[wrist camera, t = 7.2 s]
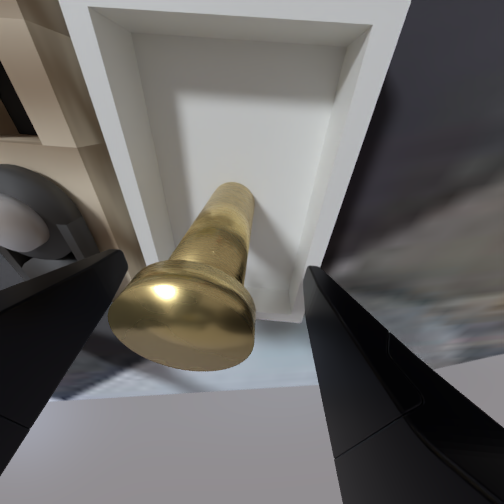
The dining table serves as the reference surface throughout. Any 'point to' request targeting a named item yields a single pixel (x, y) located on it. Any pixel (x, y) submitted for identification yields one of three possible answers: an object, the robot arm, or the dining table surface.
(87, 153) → the plate
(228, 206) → the lock pin
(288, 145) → the tray
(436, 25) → the dining table surface
